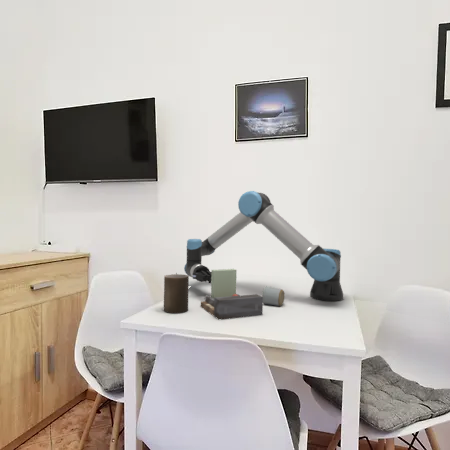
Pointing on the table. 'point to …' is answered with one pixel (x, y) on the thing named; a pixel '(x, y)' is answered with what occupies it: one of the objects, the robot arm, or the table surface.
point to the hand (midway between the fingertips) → (218, 281)
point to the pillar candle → (176, 293)
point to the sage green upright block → (223, 283)
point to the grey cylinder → (273, 296)
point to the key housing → (234, 306)
